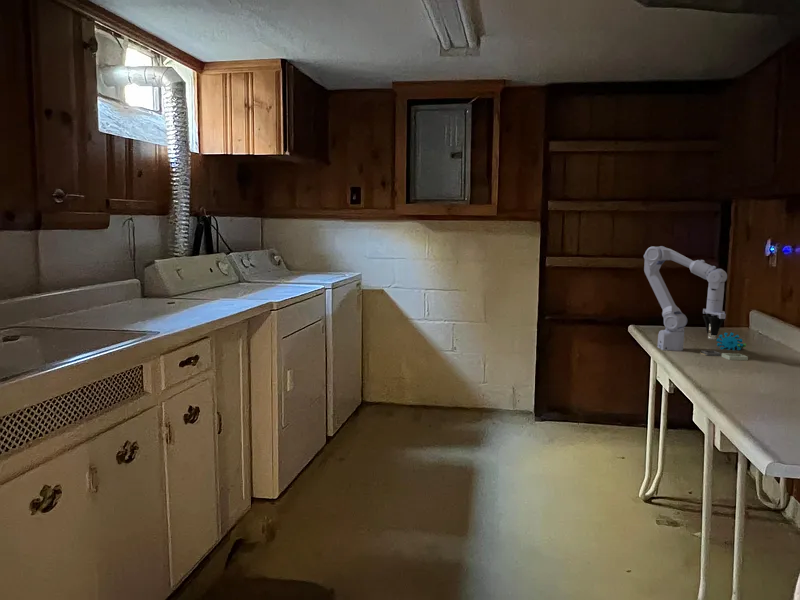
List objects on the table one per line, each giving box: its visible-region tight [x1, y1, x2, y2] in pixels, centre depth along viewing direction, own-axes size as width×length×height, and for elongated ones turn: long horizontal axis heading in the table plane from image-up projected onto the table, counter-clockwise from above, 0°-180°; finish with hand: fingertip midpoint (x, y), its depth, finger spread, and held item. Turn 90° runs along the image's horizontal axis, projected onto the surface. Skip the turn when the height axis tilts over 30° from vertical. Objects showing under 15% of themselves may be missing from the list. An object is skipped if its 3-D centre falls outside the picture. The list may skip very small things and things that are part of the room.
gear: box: [715, 332, 747, 351], centre depth 281 cm, size 11×6×10 cm
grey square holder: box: [699, 349, 722, 357], centre depth 266 cm, size 7×6×2 cm
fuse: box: [707, 324, 717, 340], centre depth 265 cm, size 3×3×6 cm
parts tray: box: [721, 352, 749, 361], centre depth 259 cm, size 7×6×2 cm
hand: (712, 334), depth 265 cm, fingers closed on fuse, 3 cm apart
